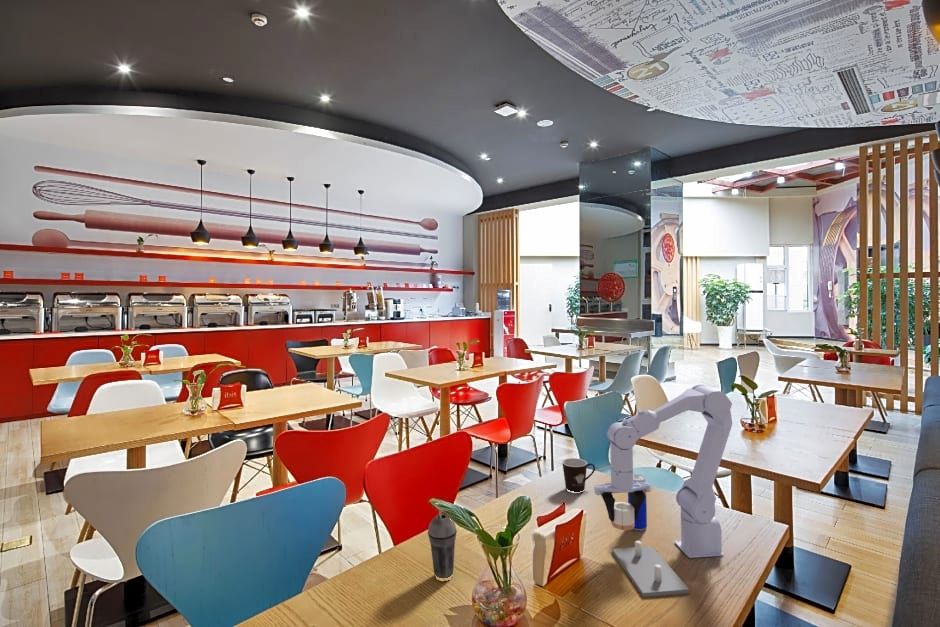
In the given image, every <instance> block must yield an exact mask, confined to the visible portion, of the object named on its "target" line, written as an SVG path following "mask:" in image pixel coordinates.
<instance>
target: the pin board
mask: <svg viewBox="0 0 940 627" xmlns="http://www.w3.org/2000/svg"><path fill="white" fill-rule="evenodd" d="M611 552H612V554H613V555H614V557H615V558H616V560H617V561H618V563H619V565H621V567H622V569H623V570H624V572H625V573H626V574H627V577H629V579H630V580H631V582H632V583H633V584H634V585H633V586H635V588H636V589H637V591H638V592H639V593H640V595H641V596H642V598H647V597H648V598H651V597H652V598H653V597H660V596H661V597H662V596H663V597H664V596H674V595H686V594H687V595H688V594H690V588H689V587H688V586H687V585H686V584H685V583H684V581H683V580H682V579H681V578H680V577H679V576H678V575H677V573H676V572H675V570H673V569H672V568H671V566H670V565H669V564H668V563H667V562H666V561H665V559H663V557H662V556H661V555H660V554H659V552H658V551H657V550H656V549H655V548H654V547H653V546H652V545H648V546H642V542H641V541H640V540H635V541H634V546H633V547H622V548H621V547H620V548H612V549H611Z"/></svg>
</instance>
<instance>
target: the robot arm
mask: <svg viewBox="0 0 940 627" xmlns="http://www.w3.org/2000/svg"><path fill="white" fill-rule="evenodd" d="M732 405H733V403H732V401H731V400H730V398H729V397H728V396H727V394H726V393H724V392H723V391H720V390H716V389H713V388H710V387H708V386H706V385H704V384H696V385H694V386H692V387H690V388H687V389H685V391H683V392H682V393H681V394H680V395H678V396H676V397H674V398H673V399H671V400H669V401H668V402H665V404H664V403H663V405H661V406H659V407H658V408H656V409H654V410H649V409H644V410H643V409H640V410H638V411H637V414H635V415H633V416H631V417H629V418H624V419H622V420H621V421H622V422H618V421H617V422H614V423H611V424H610V425H609V428H608V430H607V431H606V437H607V439H608V440H609V441H610V444H609V445H610V452H609V453H610V481H609V482H607V483H602V484H596V485H593V486H594V494H595V495H596V496H601V498H602V500H603V502H604V504H605V507H606V511H607V514H608V519H609V520H610V522H611V521H614V504H615V502H616V499H615V497H614V494H622V493H623V494H626V493H627V494H628V493H629V492H630V499H631V505H632V506H633V507H634V520H637V516H638V513H639V509H640V507H641V505H642V503H643V501H644V500H645V494H644V493H643V491H646V493H651V484H649V482H647V481H646V482H633V475H634V453H633V452H634V451H633V448H634V446H635V445H636V443H637V441H638V440H640V439H642V438H644V437H646V436H648V435H649V434H652V433H653V432H656V431H657V430H659V428H660V425H661V423H662V422H665V421H668V420H670V419H672V418H674V417H676V416H678V415H681V414H683V413H685V412H687V411H690V412H698V413H701V414H702V416H703V418H704V419H705V421H706V422H707V425H706V428H705V432H704V436H703V438H702V442H701V445H700V447H699V451H698V454H697V456H696V460H695V463H694V467H693V469H692V473H691V476H690V477H689V478H687V479H685V480H684V481H683V484H682V485H681V488H679V489H678V490H677V492H676V494H675V495H676V496H675V499H676V503H677V505H678V506H680V540H674V544H675V545H676V546H677V547H678V548H679V549H680V550H681V551H682V552H683V553H684V554H685V555H686V556H687V557H688V558H690V559H695V558H708V557H709V558H710V557H722V556H724V552H722V549H723V548H722V547H723V545H722V544H723V542H722V541H723V540H722V539H723V538H722V535H723V534H722V527H721V524H720V521H719V520H718V518H717V517H716V505H715V504H716V501H717V497H716V493H715V491H714V488H713V487H714V486H713V485H714V483H715V481H716V477H717V473H718V470H719V467H720V464H721V462H722V458H723V454H724V451H725V449H726V445H727V442H728V440H729V439H728V438H729V437H730V433H731V430H732V427H733V419H732V410H731V408H732Z"/></svg>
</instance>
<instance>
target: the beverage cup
mask: <svg viewBox="0 0 940 627" xmlns="http://www.w3.org/2000/svg"><path fill="white" fill-rule="evenodd" d="M438 501H440V502H441V499H438ZM438 512H439V513H438V515H436V516H435V517H434V518H432V520H431V521H430V522H429V525H428V529H427V535H428V539H429V543H430V548H431V549H430V551H431V559H432V560H431V561H432V566H433V575H434V576H435V575H436V576H437V577H439V578H448V577H450V576H451V575H452V574H454V564H455V548H456V546H455V545H456V544H455V543H456V540H457V538H456V537H457V533H458V531H457V527H456V523H455V521H454V520H453V521H454V522H453V521H451V520H450V519H449V518H448V517H447V516H448V515H447V514H443V513H442V510H441V511H440V510H439V509H438ZM446 515H447V516H446Z"/></svg>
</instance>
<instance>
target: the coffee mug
mask: <svg viewBox="0 0 940 627" xmlns="http://www.w3.org/2000/svg"><path fill="white" fill-rule="evenodd" d="M561 463H562V470H563V476H564V483H565V484H564V485H565V489H566V488H567V489H568V490H570V491H574V492H580V491H583V490H584V489H585V488H586V481H587V480H588V479H589V478H591V477H592V475H593V474H594V473H595V471H596V466H595V465H594V464H593V463H588V461H586V459H585V460H584V459H581V458H577V457H576V458H575V457H573V458H572V457H571V458H565V459H563V460H562V462H561ZM589 466H592V471H591V473H589V475H587V468H588V467H589ZM584 491H585V490H584Z"/></svg>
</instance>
